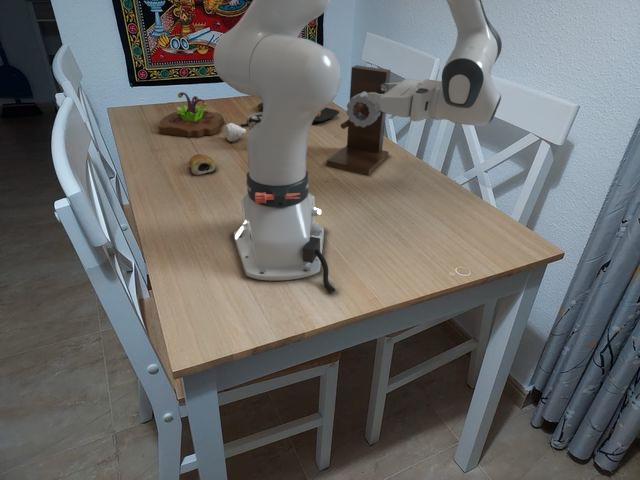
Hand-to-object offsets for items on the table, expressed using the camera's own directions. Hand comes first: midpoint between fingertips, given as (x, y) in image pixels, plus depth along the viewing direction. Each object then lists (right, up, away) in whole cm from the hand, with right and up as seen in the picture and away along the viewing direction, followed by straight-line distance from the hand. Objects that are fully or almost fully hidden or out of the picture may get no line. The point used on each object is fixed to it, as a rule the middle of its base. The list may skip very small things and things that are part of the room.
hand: (375, 90), depth 114 cm
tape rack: (-3, -15, +14) cm, 21 cm away
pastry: (-46, -19, +7) cm, 50 cm away
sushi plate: (-26, +4, +43) cm, 51 cm away
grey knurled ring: (-3, -7, +6) cm, 10 cm away
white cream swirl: (-40, -7, +26) cm, 48 cm away
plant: (-56, -1, +35) cm, 66 cm away
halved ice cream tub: (-29, -10, +21) cm, 37 cm away
